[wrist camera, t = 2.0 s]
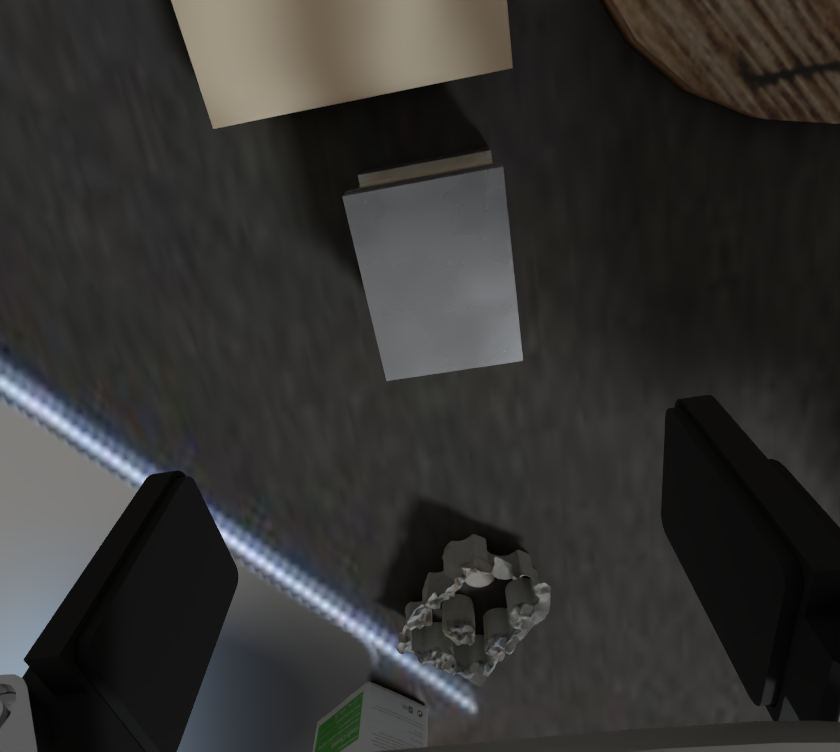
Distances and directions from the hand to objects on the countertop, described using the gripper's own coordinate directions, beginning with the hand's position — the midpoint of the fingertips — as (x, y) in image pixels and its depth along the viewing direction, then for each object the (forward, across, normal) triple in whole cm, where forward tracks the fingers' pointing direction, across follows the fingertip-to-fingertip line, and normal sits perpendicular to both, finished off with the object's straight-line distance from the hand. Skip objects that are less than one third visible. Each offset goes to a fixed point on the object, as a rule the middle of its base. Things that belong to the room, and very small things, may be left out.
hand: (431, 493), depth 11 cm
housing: (+19, 0, 0) cm, 19 cm away
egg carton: (+19, +1, +25) cm, 32 cm away
